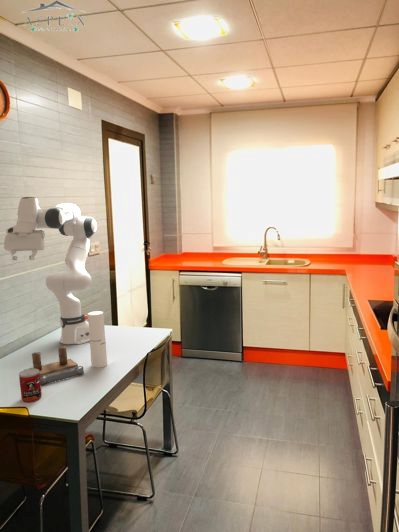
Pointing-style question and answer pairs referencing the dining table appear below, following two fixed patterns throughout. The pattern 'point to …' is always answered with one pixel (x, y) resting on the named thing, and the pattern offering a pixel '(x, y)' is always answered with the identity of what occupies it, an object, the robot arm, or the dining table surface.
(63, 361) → the spanner rest
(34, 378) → the canned food
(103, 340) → the cylindrical container
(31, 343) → the dining table surface
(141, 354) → the dining table surface
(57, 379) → the metal bar
